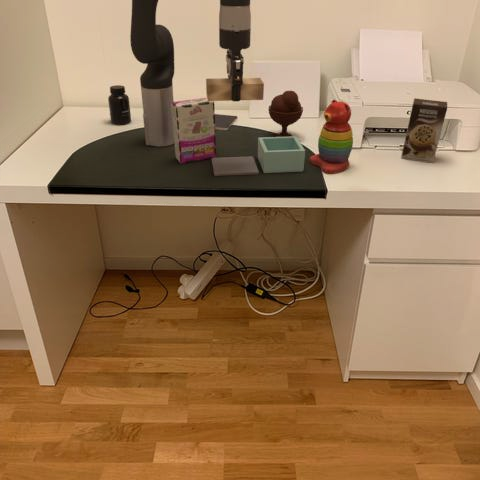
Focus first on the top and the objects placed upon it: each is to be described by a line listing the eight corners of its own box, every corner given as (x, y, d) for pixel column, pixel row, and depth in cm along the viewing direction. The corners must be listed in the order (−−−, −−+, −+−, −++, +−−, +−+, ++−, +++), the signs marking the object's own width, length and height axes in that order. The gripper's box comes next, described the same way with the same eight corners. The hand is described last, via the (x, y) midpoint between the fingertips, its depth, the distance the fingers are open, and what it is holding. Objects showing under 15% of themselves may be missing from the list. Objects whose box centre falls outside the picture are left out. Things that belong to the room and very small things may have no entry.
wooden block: (208, 101, 117) (207, 84, 115) (206, 94, 122) (206, 78, 120) (263, 99, 119) (263, 83, 117) (259, 93, 124) (260, 77, 122)
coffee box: (400, 158, 137) (412, 103, 128) (402, 151, 142) (413, 97, 133) (433, 163, 134) (447, 107, 125) (434, 155, 139) (447, 100, 130)
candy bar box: (210, 151, 140) (208, 96, 131) (216, 157, 136) (215, 101, 127) (174, 157, 136) (170, 101, 127) (180, 164, 132) (176, 106, 123)
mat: (214, 175, 125) (214, 173, 125) (211, 159, 135) (211, 157, 134) (258, 174, 127) (258, 172, 126) (252, 158, 136) (252, 156, 136)
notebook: (237, 120, 166) (181, 115, 171) (237, 115, 165) (180, 110, 170) (227, 132, 156) (167, 126, 160) (227, 127, 155) (167, 121, 159)
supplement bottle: (129, 125, 159) (124, 89, 152) (109, 125, 159) (103, 89, 152) (133, 119, 164) (129, 84, 158) (114, 119, 165) (109, 84, 158)
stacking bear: (306, 160, 135) (311, 98, 125) (335, 155, 138) (343, 94, 129) (327, 175, 127) (334, 110, 117) (357, 169, 130) (367, 105, 120)
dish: (263, 173, 127) (264, 152, 124) (257, 157, 137) (258, 137, 133) (303, 171, 129) (305, 150, 125) (294, 155, 138) (296, 136, 134)
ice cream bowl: (300, 132, 155) (304, 85, 147) (300, 144, 146) (304, 95, 137) (268, 130, 156) (270, 84, 148) (266, 142, 146) (268, 94, 138)
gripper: (216, 21, 117) (217, 90, 126) (222, 31, 105) (222, 106, 114) (246, 21, 118) (245, 89, 127) (255, 31, 106) (253, 105, 115)
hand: (234, 97), depth 120 cm, fingers closed on wooden block, 6 cm apart
